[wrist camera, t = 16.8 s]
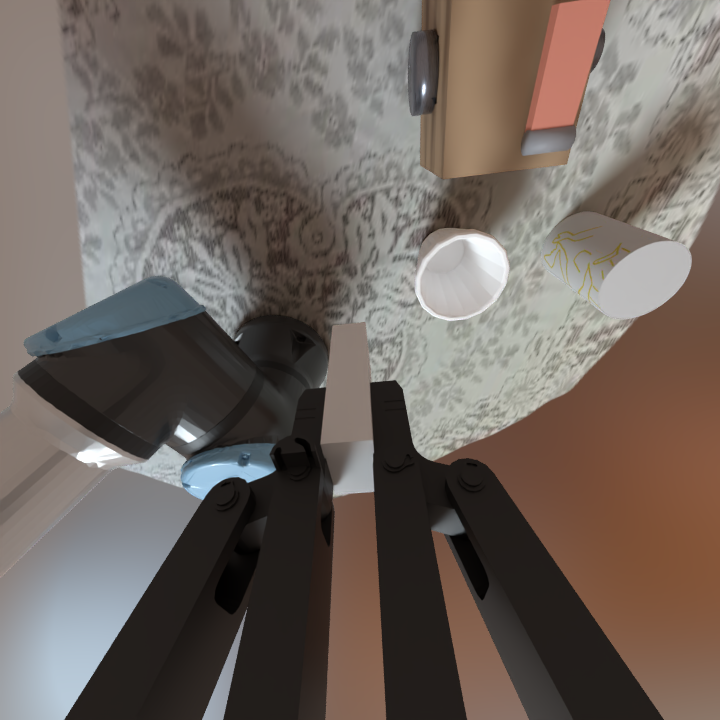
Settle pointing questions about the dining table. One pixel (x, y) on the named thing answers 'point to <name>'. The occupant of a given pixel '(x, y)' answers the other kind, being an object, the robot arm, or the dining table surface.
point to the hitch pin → (426, 70)
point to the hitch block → (485, 86)
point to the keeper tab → (562, 75)
